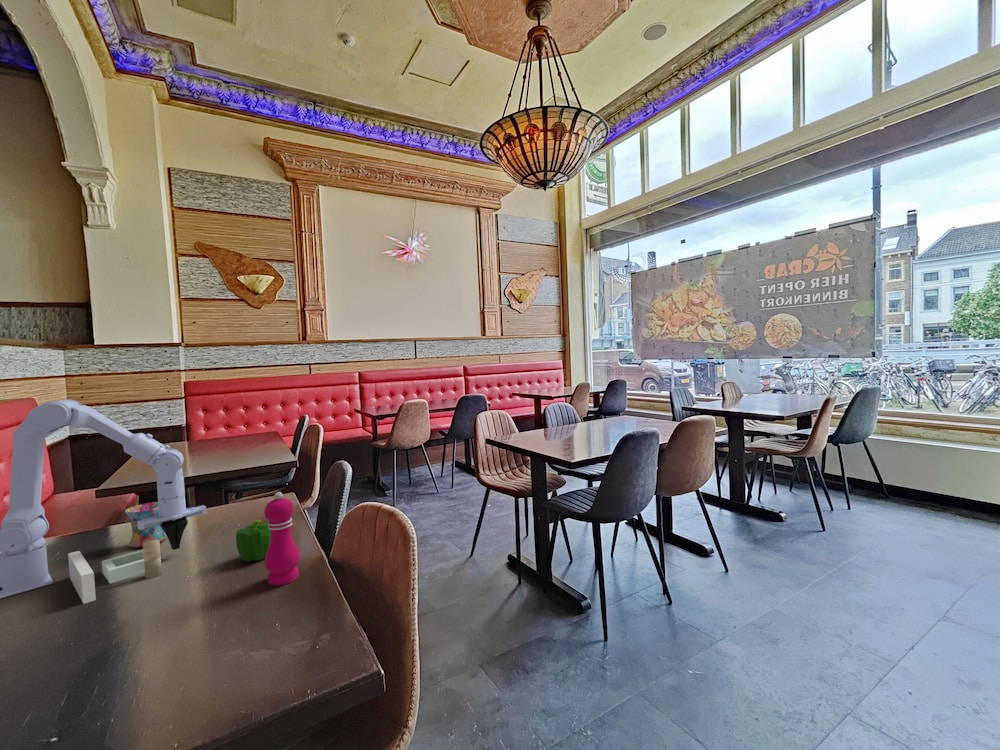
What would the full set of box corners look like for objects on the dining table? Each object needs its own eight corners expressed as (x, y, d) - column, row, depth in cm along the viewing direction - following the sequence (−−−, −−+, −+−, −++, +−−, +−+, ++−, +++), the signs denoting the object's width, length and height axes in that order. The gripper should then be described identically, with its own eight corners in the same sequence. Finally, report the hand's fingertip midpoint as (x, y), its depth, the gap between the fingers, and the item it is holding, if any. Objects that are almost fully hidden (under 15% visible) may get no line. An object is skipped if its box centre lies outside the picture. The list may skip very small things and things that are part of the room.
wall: (83, 603, 97) (81, 576, 97) (69, 578, 110) (68, 553, 110) (95, 599, 99) (93, 572, 98) (81, 574, 112) (79, 550, 112)
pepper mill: (287, 587, 100) (281, 497, 99) (258, 586, 101) (252, 496, 101) (307, 572, 107) (302, 487, 106) (280, 571, 109) (275, 487, 108)
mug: (132, 553, 124) (129, 514, 124) (124, 545, 130) (121, 508, 130) (183, 538, 133) (181, 502, 133) (174, 532, 139) (171, 497, 139)
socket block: (109, 583, 106) (109, 570, 106) (102, 573, 112) (101, 561, 112) (157, 569, 113) (156, 557, 113) (147, 560, 119) (147, 548, 119)
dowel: (146, 579, 107) (144, 546, 107) (143, 576, 109) (141, 543, 109) (163, 574, 110) (161, 541, 110) (159, 571, 112) (157, 538, 112)
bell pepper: (234, 558, 117) (231, 520, 117) (268, 548, 123) (266, 511, 122) (241, 568, 111) (239, 528, 111) (278, 557, 116) (275, 519, 116)
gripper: (140, 507, 111) (145, 562, 112) (208, 492, 122) (212, 542, 123) (133, 502, 116) (138, 555, 116) (199, 488, 127) (203, 536, 127)
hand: (175, 548), depth 120 cm, fingers closed
